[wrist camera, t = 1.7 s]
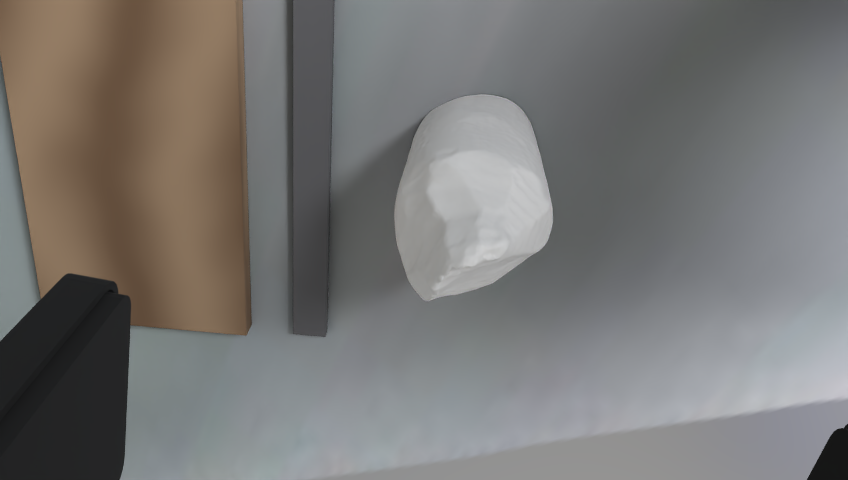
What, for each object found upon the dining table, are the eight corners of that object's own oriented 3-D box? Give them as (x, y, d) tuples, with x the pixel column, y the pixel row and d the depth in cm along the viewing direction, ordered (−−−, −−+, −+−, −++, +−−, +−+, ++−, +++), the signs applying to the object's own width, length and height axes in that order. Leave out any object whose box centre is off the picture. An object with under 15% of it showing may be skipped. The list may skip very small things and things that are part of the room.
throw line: (336, -106, 30) (334, -106, 29) (327, 331, 39) (325, 336, 38) (295, -110, 30) (293, -109, 29) (295, 328, 39) (293, 334, 38)
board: (239, -114, 30) (232, -113, 29) (251, 324, 39) (246, 335, 38) (-17, -135, 30) (-32, -135, 29) (53, 306, 39) (43, 317, 38)
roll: (470, 394, 25) (339, 290, 24) (469, 236, 36) (379, 157, 34) (610, 278, 23) (475, 156, 22) (564, 147, 34) (472, 59, 32)
